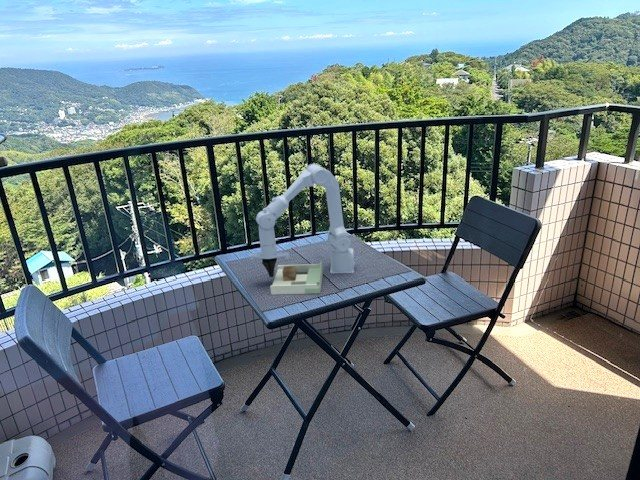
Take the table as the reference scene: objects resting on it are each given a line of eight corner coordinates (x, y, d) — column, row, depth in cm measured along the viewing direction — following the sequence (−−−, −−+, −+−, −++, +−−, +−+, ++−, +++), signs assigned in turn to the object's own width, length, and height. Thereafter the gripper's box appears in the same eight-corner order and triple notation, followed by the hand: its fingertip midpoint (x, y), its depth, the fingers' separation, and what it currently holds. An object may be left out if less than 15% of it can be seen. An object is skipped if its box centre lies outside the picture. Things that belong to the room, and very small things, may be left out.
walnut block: (296, 275, 170) (295, 266, 168) (295, 280, 166) (294, 271, 164) (284, 275, 170) (284, 266, 169) (283, 281, 166) (282, 271, 165)
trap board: (322, 271, 176) (322, 261, 174) (320, 293, 159) (319, 282, 158) (278, 273, 178) (277, 262, 176) (271, 294, 161) (269, 283, 159)
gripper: (288, 238, 166) (291, 270, 171) (250, 239, 167) (255, 271, 172) (286, 245, 160) (289, 278, 165) (246, 246, 161) (251, 280, 166)
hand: (271, 275), depth 168 cm, fingers closed
